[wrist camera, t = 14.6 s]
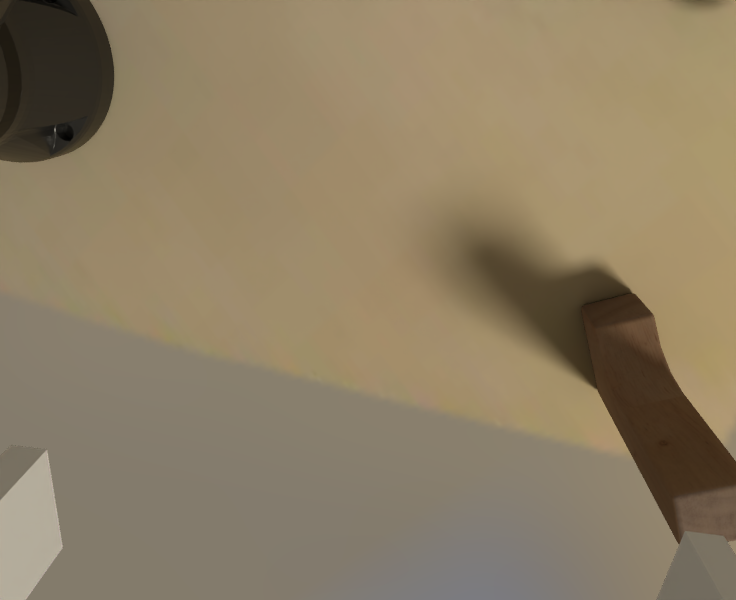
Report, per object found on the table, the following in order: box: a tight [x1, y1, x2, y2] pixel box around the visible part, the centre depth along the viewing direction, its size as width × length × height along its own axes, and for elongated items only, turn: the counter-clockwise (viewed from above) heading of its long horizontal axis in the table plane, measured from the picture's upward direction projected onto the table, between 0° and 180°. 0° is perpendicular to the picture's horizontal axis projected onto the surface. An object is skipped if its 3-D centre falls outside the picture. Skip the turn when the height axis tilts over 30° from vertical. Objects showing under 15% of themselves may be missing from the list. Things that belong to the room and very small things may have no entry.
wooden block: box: [581, 294, 736, 544], centre depth 42 cm, size 9×4×18 cm, turn 18°
